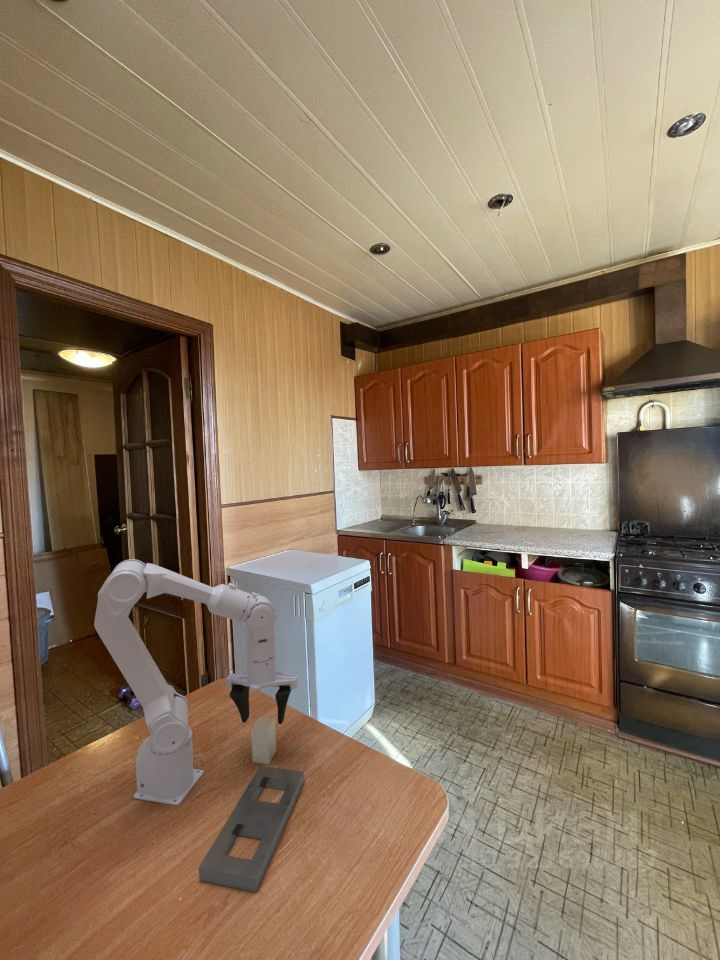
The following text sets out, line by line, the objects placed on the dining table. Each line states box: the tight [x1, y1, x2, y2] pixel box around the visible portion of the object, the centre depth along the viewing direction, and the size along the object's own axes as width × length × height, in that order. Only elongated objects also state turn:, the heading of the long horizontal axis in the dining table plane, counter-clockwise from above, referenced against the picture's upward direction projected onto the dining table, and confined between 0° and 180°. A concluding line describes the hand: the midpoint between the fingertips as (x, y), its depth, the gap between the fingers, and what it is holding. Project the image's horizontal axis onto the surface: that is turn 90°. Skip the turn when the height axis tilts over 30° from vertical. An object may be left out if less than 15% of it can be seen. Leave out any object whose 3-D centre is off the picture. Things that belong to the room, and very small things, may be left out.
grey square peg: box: [250, 717, 277, 765], centre depth 82 cm, size 4×4×7 cm
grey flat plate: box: [198, 765, 305, 893], centre depth 67 cm, size 9×20×2 cm, turn 168°
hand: (263, 720), depth 82 cm, fingers open, 7 cm apart
